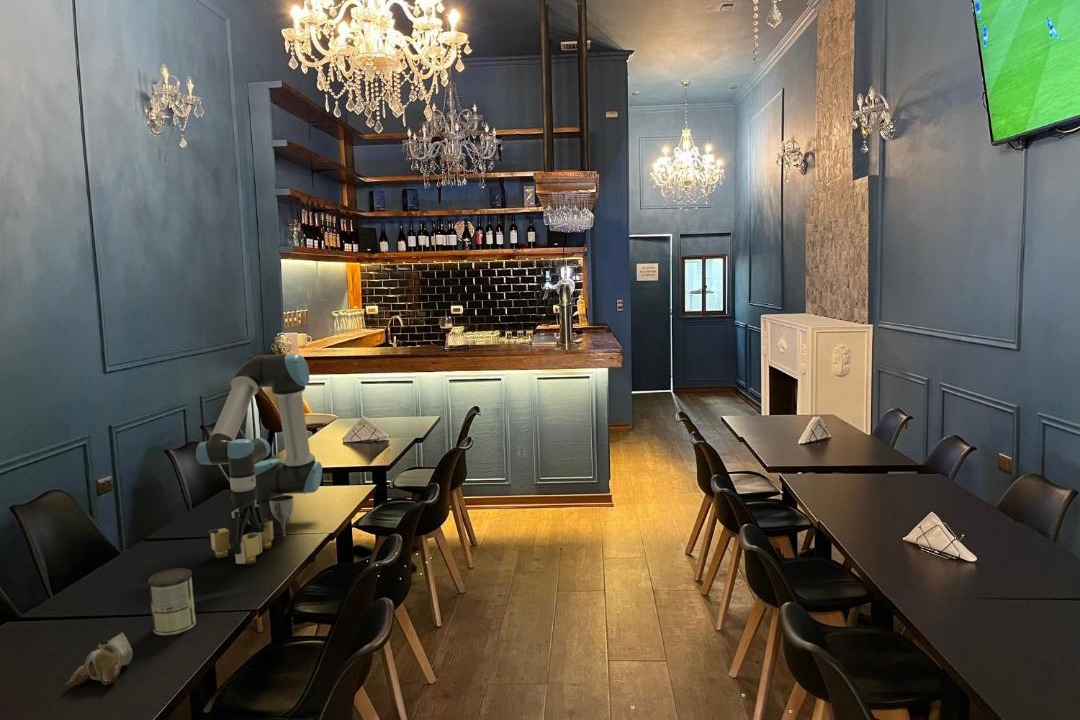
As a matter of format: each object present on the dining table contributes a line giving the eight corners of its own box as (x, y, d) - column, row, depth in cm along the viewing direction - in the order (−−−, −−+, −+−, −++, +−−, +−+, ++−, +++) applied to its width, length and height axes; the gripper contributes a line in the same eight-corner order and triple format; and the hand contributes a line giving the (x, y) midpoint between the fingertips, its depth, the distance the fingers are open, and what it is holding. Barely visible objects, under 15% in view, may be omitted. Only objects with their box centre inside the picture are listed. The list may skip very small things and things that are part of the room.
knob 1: (226, 552, 257) (224, 525, 256) (231, 556, 253) (228, 528, 252) (209, 556, 253) (207, 529, 253) (213, 560, 250) (211, 532, 249)
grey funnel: (300, 535, 276) (296, 494, 274) (290, 543, 268) (287, 501, 267) (278, 536, 277) (275, 495, 275) (268, 543, 269) (265, 501, 267)
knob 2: (239, 563, 246) (236, 535, 245) (251, 558, 250) (249, 530, 249) (249, 566, 243) (247, 537, 242) (262, 561, 247) (259, 533, 246)
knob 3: (271, 549, 258) (269, 522, 257) (257, 550, 258) (255, 523, 257) (274, 543, 264) (272, 517, 263) (260, 545, 263) (258, 518, 262)
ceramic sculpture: (142, 625, 185) (104, 659, 170) (147, 659, 186) (109, 696, 171) (100, 626, 185) (57, 660, 170) (105, 660, 187) (63, 696, 172)
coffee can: (146, 629, 203) (141, 577, 202) (184, 615, 211) (180, 565, 210) (164, 639, 197) (159, 585, 195) (203, 624, 205) (198, 573, 203)
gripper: (234, 498, 233) (240, 570, 235) (272, 479, 254) (278, 546, 256) (211, 498, 234) (218, 569, 236) (252, 479, 256) (257, 545, 258)
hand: (249, 557), depth 246 cm, fingers open, 9 cm apart
